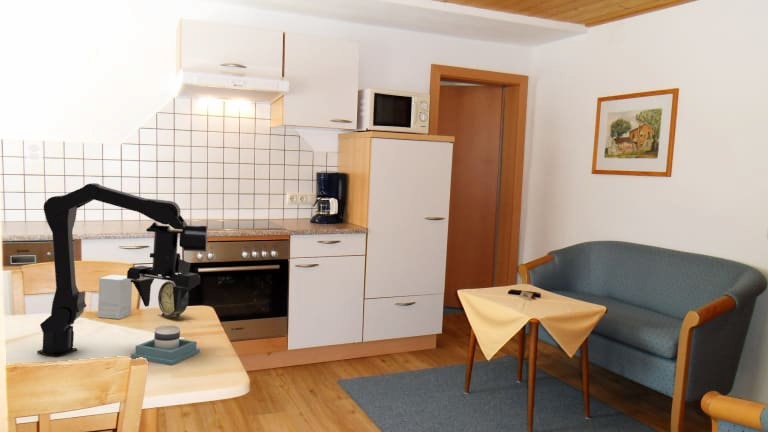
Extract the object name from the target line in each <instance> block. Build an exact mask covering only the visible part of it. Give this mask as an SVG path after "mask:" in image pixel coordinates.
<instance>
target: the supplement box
mask: <svg viewBox="0 0 768 432" xmlns="http://www.w3.org/2000/svg"><path fill="white" fill-rule="evenodd" d="M131 280H133V279H128V278H127V275H119V274H108V275H106V276H102V277H100V278H99V279H98V307H97V308H98V310H97V311H98V312H97V317H98V318H104V319H114V320H115V319H117V320H120V319H121V320H122V319H123V318H125V317H129V316H131V314H132V300H133V299H132V296H133V293H132V292H133V282H131Z"/></svg>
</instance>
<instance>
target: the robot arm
mask: <svg viewBox="0 0 768 432" xmlns="http://www.w3.org/2000/svg"><path fill="white" fill-rule="evenodd" d="M92 201H98V202H100V203H104V204H109V205H111V206H116V207H119V208H122V209H126V210H129V211H133V212H136V213H139V214H142V215H144V216H145V217H147V218H149V219H151V220H153V221H154V222H153V223H152V224H151V225H150V226H149V227H148V228H146V232H147V233H154V239H153V250H152V251H153V252H150V253H149V258H152V266H146V265H138V266H131V267H129V268H128V270H127V272H126V276H127V278H128V279H132V280H131V282H132V284H133V285H134V287H135V288H136V290H137V292H138V294H139V296H140V298H141V301H142V303H143V305H144V307H149V306H150V303H151V302H150V301H151V289H152V284H153V282H154V280H155V279H157V280H163V281H174V283H175V285H176V286H175V287H173V300H174V310H175V312H177V311H179V309H180V306H181V304H182V302H183V300H184V297H185V295H186V294H187V292H188V293H189V291H190V290H191V289H193V288H195V287H196V286H198V285H201V276H200V274H199V273H195V272H189V271H190V267H191V263H190V262H188V261H186V260H183V259H181V253H178V241H179V247H181V248H183V251H187V252H200V253H201V252H205V253H206V252H207V249H208V240H209V237H208V226H207V225H189V224H187V222H186V220H185V219H184V218H183V217H182V215H181V208H180V206H179V205H178V203H176V202H175V201H172V200H164V199H154V198H146V197H141V196H139V195H134V194H132V193H127V192H125V191H121V190H118V189H114V188H111V187H107V186H103V185H101V184H99V183H95V182H93V183H92V182H91V183H87V184H85V185H84V186H82V187H81V188H78V189H76V190H74V191H72V192H69V193H67V194H64V195H63V194H62V195H55V196H51V197H49V198H48V199H46V201H45V202H44V204H43V213H44V216H45V219H46V224H48V226H49V229H50V231H51V233H52V246H53V248H52V249H53V261H54V275H55V287H56V288H55V292H54V295H53V298H52V303H51V312H50V316H48V317H47V318H46V319H45V320H44V321H42V322H41V323H40V329H41V332H42V349H40V350H37V354H41V355H47V356H50V357H57V358H58V357H61V356H64V355H68V354H70V353H73V352H76V351H78V348H76V347H74V337H75V335H74V333H75V332H74V324H75V321H76V320H77V319H79V317H81V315H83V313H84V310H85V308H86V307H87V304H86V299H85V298H86V291H79V289H78V287H77V282H76V270H75V269H76V267H75V254H74V240H73V239H74V237H73V229H74V226H75V222H76V219H77V214H78V213H77V211H78V209H79V208H81V207H83V206H85V205H87V204H88V203H91V202H92ZM159 224H162V225H159ZM171 228H173V229H171ZM178 273H179V274H178Z"/></svg>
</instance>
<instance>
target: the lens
mask: <svg viewBox="0 0 768 432" xmlns="http://www.w3.org/2000/svg"><path fill="white" fill-rule="evenodd" d="M153 338H154V339H155V343H154V348H158V349H164V350H170V351H171V350H174V349H176V348H178V347H179V339H181V328H180V327H179V326H175V325H161V326H157V327H155V328H154V337H153Z"/></svg>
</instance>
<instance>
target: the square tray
mask: <svg viewBox="0 0 768 432" xmlns="http://www.w3.org/2000/svg"><path fill="white" fill-rule="evenodd" d="M154 343H155V338H154V339H151V340H147V341H146V342H143V343H140V344H137V345H135V352H132V353H131V354H130V358H131V359H134V358H139V357H143V358H146V359H147V360H148V361H147V362H150V363H151V362H152V363H157V364H163V365H167V366H173V365H176V364H178V363H180V362H182V361H185V360H186V359H189V358H191V357H193V356H195V355H198V354H199V353H201V349H200V348H197V343H198V341H195V340H188V339H182V338H179V347H178V348H176V349H174V350H171V351H170V350H164V349H158V348H154Z"/></svg>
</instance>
